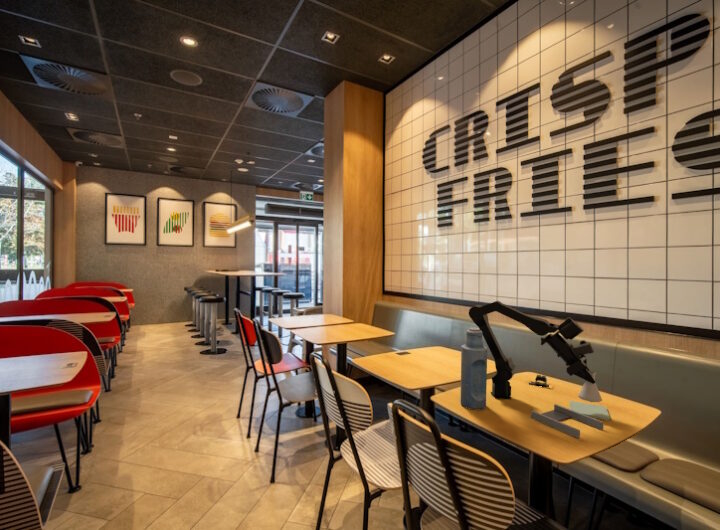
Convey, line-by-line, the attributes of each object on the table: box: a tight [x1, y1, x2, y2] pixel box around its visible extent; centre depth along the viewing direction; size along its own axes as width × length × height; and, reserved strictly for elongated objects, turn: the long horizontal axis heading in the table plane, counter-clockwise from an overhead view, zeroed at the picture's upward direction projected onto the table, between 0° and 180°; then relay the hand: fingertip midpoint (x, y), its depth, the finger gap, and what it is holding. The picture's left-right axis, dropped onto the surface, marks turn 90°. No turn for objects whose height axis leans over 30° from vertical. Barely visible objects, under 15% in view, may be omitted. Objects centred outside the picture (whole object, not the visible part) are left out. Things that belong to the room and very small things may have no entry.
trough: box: [530, 403, 604, 440], centre depth 127 cm, size 17×14×2 cm
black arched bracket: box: [528, 374, 550, 388], centre depth 166 cm, size 12×7×5 cm, turn 56°
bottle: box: [459, 327, 488, 410], centre depth 142 cm, size 10×10×30 cm
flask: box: [577, 370, 603, 403], centre depth 135 cm, size 7×7×10 cm
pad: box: [569, 400, 611, 421], centre depth 138 cm, size 12×12×1 cm
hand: (594, 381), depth 134 cm, fingers closed on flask, 3 cm apart
